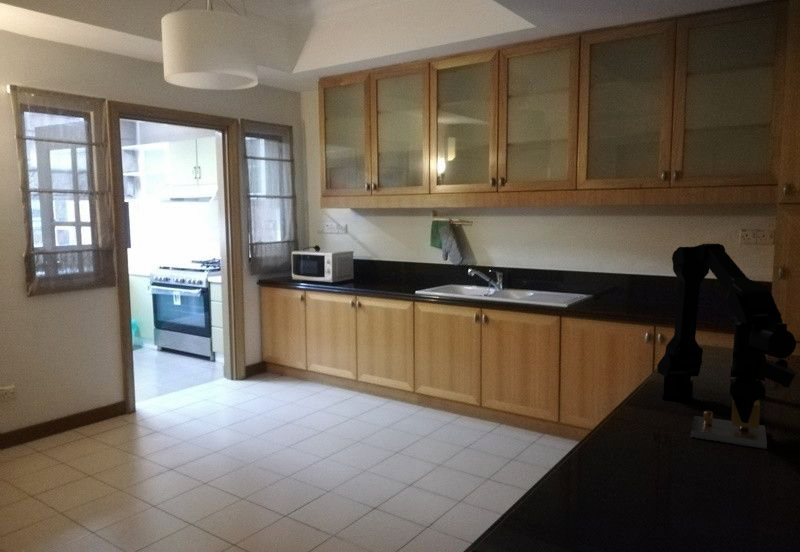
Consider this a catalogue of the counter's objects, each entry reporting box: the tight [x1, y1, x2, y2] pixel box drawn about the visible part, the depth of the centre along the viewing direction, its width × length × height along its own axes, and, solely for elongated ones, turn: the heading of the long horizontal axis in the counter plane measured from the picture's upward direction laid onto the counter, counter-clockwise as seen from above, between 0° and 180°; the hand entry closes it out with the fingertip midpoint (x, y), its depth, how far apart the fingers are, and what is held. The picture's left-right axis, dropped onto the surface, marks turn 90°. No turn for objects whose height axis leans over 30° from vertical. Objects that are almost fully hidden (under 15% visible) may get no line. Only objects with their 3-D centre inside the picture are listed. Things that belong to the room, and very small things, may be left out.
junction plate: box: [690, 410, 768, 450], centre depth 132 cm, size 14×11×4 cm
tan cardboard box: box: [731, 399, 761, 429], centre depth 131 cm, size 5×5×5 cm
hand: (744, 419), depth 131 cm, fingers closed on tan cardboard box, 5 cm apart
